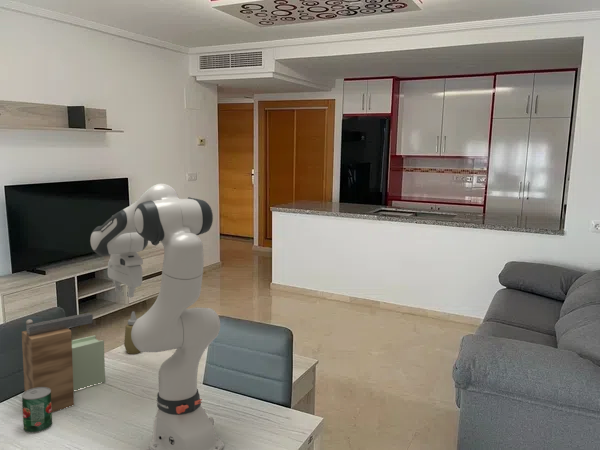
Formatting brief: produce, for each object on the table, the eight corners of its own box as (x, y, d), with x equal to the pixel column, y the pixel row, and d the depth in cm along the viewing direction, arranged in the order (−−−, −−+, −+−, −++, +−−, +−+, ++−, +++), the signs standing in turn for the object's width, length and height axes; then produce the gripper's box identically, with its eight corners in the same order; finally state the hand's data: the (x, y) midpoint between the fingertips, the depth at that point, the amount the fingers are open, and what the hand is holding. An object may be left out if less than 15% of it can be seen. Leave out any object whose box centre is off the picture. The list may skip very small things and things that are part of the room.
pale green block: (105, 382, 180) (103, 340, 178) (63, 395, 169) (61, 351, 167) (96, 375, 185) (94, 335, 184) (54, 387, 175) (53, 344, 173)
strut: (92, 322, 168) (92, 314, 167) (29, 336, 153) (29, 327, 153) (89, 320, 170) (89, 312, 169) (26, 333, 156) (26, 324, 155)
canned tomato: (57, 424, 150) (56, 391, 149) (32, 436, 143) (30, 401, 142) (43, 417, 154) (41, 384, 153) (18, 428, 148) (16, 394, 146)
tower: (74, 405, 162) (70, 319, 159) (35, 417, 154) (31, 327, 150) (63, 395, 169) (59, 312, 166) (25, 406, 161) (21, 319, 157)
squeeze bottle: (140, 355, 206) (139, 314, 204) (121, 355, 206) (120, 314, 204) (146, 348, 214) (145, 309, 212) (128, 348, 214) (127, 308, 212)
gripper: (102, 253, 180) (103, 290, 181) (128, 262, 166) (129, 301, 167) (118, 252, 184) (119, 287, 186) (145, 260, 170) (146, 298, 172)
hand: (124, 294), depth 177 cm, fingers open, 8 cm apart
